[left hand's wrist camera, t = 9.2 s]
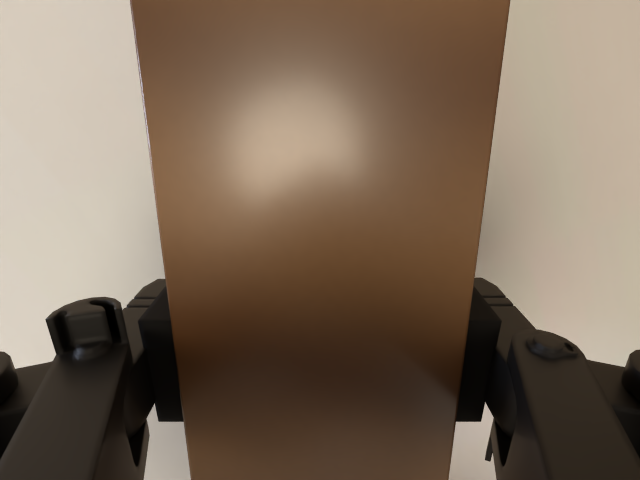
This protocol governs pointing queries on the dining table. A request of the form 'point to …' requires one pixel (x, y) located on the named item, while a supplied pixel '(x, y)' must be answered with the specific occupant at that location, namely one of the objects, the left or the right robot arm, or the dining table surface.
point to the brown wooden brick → (319, 224)
